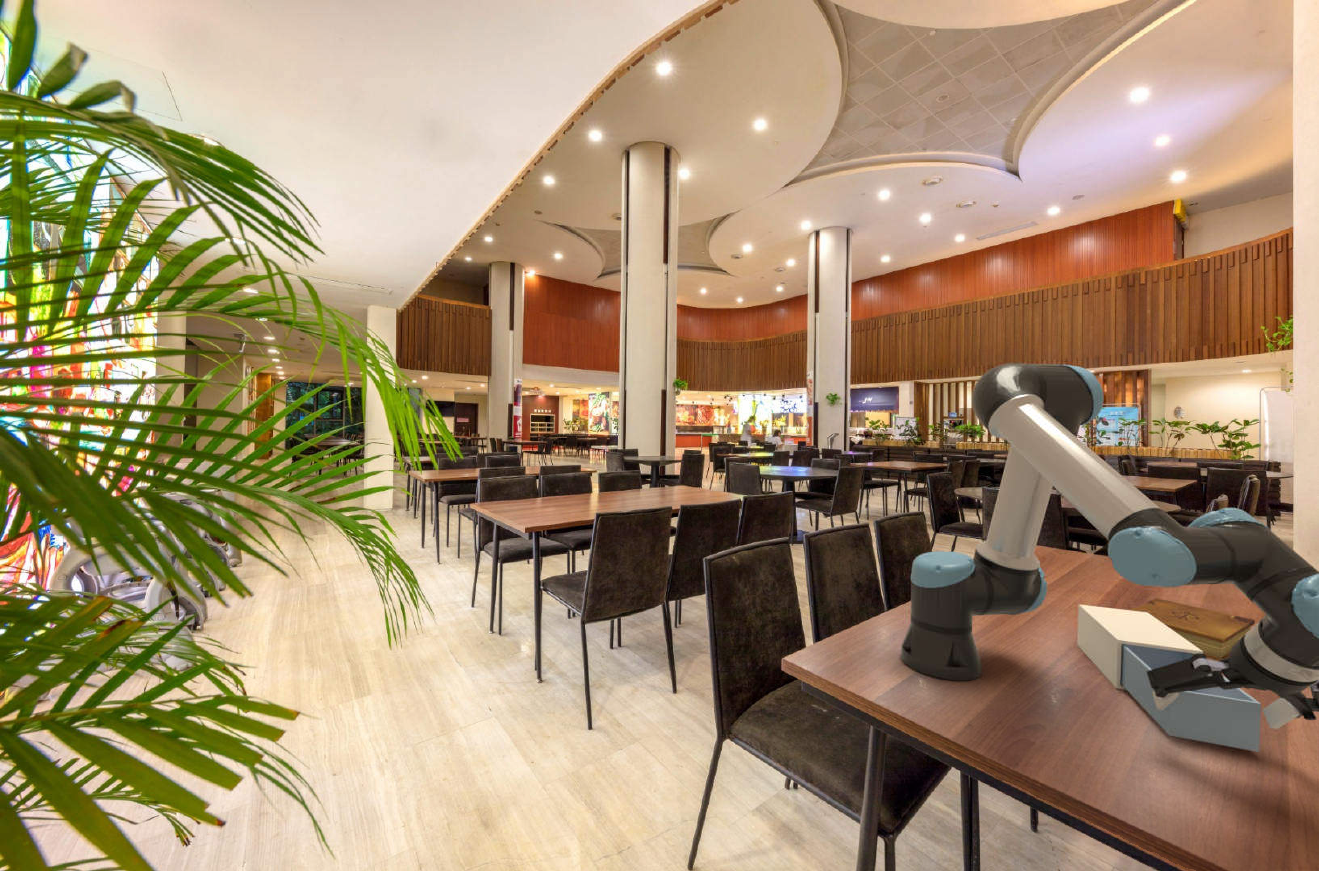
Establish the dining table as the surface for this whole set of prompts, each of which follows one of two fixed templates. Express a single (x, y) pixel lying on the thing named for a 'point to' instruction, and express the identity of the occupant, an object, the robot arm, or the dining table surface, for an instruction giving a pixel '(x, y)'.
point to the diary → (1200, 625)
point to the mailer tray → (1192, 703)
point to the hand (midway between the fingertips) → (1211, 709)
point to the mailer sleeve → (1123, 637)
